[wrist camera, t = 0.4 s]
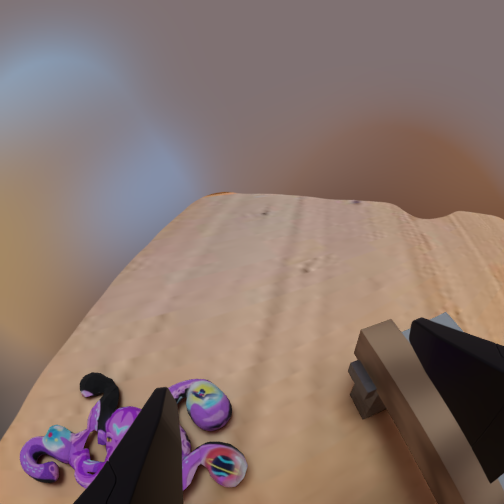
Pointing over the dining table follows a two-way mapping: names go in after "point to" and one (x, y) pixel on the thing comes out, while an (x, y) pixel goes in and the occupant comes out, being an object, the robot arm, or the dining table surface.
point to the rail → (424, 418)
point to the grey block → (364, 391)
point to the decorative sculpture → (118, 422)
